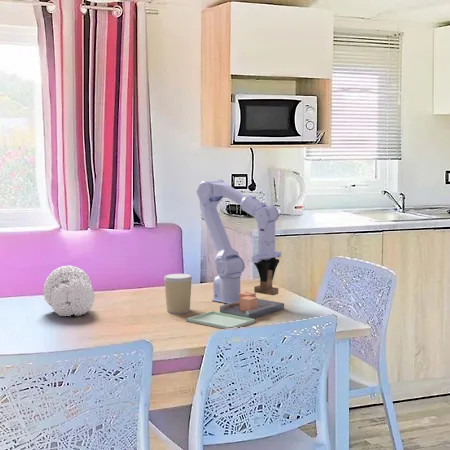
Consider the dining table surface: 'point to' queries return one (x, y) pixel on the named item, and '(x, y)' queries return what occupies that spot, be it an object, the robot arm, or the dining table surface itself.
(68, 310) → the cauliflower
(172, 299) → the coffee cup
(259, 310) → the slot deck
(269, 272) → the tan stepped block
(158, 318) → the dining table surface
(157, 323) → the dining table surface
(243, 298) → the block
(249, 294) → the block
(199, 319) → the tray
